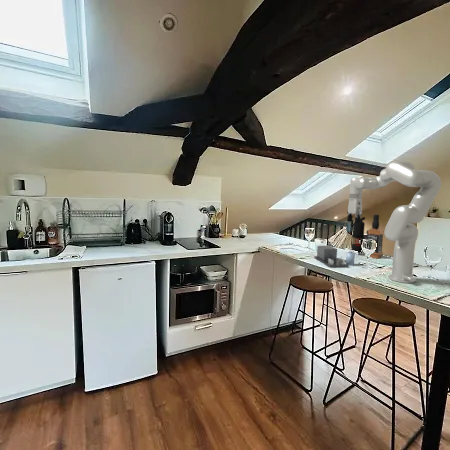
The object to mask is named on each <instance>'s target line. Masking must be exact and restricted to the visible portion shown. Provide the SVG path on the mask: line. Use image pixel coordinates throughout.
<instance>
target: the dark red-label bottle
mask: <svg viewBox="0 0 450 450" xmlns="http://www.w3.org/2000/svg"><path fill="white" fill-rule="evenodd" d="M365 220H366V217H365V216H361V217H360V223H359V224H356V223H355V221H353V223H352V224H350V226H351V227H352V237H351V238H353V239H355V242H354V243H352V244H351V250H355V251H358V252H359V254H360V253H362V252H361V250H362V249H361V239H364V238H365V226H366V225H365V222H364V221H365Z"/></svg>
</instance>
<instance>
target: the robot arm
mask: <svg viewBox="0 0 450 450" xmlns="http://www.w3.org/2000/svg"><path fill="white" fill-rule="evenodd" d="M393 182H398V183H400V184H401V185H404V186H405V187H409V188H420V189H419V190H418V191H416V193H415V194H414V195H413V197H412V199H411V202H410V203H409V204H406V205H404V204H403V205H399V206H397V207H396V208H395V209H393V212H392V213H391V216H390V218H389V219H388V220H387V223H386V225H385V228H384V230H383V231H384V234H383V235H384V236H385V238H386V239H387V240H388V241H390V242H395V243H394V246H393V247H394V248H393V255H392V257H393V258H392V269H391V274H388V279H390V280H391V281H394V282H397V283H403V284H404V283H405V284H412V283H416V281H417V278H416V277H414V273H413V270H414V263H415V262H414V260H415V259H414V258H415V249H416V244H417V240H418V237H419V229H418V228H417V226H416V225H415V224H418V223H421V222H422V221H423V220H424V219H425V216H426V215H427V213H428V211H430V208H431V205H432V204H433V202H434V200H435V199H436V197H437V196H438V194H439V193H440V191H441V187H442V180H441V177H440V176H439V175H438V174H437V173H436V172H434V171H432V170H427V169H415V165H414V164H413V163H412V162H410V161H405V160H403V161H402V160H394V161H391V162H389V163H388V164H387V165H386V168H383V169H382V170H381V171H380V173H379V175H378V176H374V177H371V176H369V177H368V176H367V177H366V176H361V177H352V178H351V179H350V181H349V183H350V184H349V193H348V194H349V198H348V206H347V209H346V211H347V212H346V213H347V219H346V220H347V221H346V222H350V223H351V222H353V215H354V216H355V218H354V222H355V223H356V224H359V223H360V218H362V215H363V190H376V189H381V188H384V187H386V186H387V185H389V184H390V183H393Z"/></svg>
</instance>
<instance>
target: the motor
mask: <svg viewBox="0 0 450 450" xmlns="http://www.w3.org/2000/svg"><path fill="white" fill-rule="evenodd" d="M314 259H315V260H316V259H317V260H316V261H318V262H320V263H322V265H325V266H327V267H329V268H330V269H331V268H333V269H334V268H337V269H338V268H349V265H347V264H346V259H343V258H342V257H341V258H339V259H338V248H336V247H334V246H331V245H317V249H316V255H314Z"/></svg>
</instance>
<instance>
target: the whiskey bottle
mask: <svg viewBox="0 0 450 450" xmlns="http://www.w3.org/2000/svg"><path fill="white" fill-rule="evenodd" d="M372 217H373V218H372V224H371V228H369V229H368V230H366V240H367V239H373V240H375V241H376V243H377V247H376V250H375V252H374V253H373V254H371V255H370V257H372V258H371V259H375V258H376V259H375V260H377V259H378V260H379V259H381V258H383V238H384V235H385V234H384V231H385V230H382V229H381V228H380V222H379V220H380V214H373V216H372Z"/></svg>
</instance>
